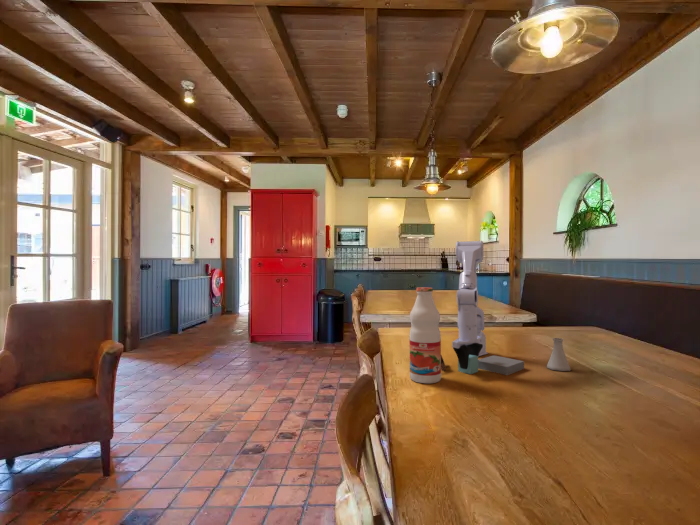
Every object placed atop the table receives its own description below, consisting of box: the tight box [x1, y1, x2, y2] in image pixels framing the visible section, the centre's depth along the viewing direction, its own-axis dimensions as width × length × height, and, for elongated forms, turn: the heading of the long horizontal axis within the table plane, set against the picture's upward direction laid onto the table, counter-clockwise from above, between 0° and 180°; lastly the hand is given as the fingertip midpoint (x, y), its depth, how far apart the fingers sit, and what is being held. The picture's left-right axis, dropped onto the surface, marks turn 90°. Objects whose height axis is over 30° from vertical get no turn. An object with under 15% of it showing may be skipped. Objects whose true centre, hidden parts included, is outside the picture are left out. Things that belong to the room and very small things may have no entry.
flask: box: [546, 337, 571, 372], centre depth 124 cm, size 7×7×10 cm
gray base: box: [478, 354, 525, 376], centre depth 125 cm, size 11×11×3 cm
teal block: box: [457, 355, 479, 375], centre depth 121 cm, size 4×4×5 cm
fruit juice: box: [408, 286, 442, 384], centre depth 114 cm, size 9×9×28 cm
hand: (468, 367), depth 121 cm, fingers closed on teal block, 4 cm apart
